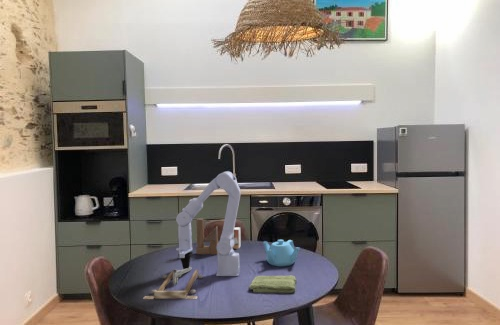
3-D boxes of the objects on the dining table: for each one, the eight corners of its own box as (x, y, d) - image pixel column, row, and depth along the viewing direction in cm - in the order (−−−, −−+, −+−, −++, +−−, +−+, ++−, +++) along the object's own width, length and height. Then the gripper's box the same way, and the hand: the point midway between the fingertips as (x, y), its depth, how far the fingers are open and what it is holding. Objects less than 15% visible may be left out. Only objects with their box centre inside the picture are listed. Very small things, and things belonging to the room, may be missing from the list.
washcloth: (253, 280, 156) (253, 273, 156) (296, 282, 154) (296, 274, 153) (248, 293, 143) (248, 285, 143) (295, 295, 141) (295, 286, 140)
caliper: (175, 286, 151) (174, 270, 151) (172, 286, 151) (172, 270, 151) (192, 269, 171) (191, 255, 171) (189, 269, 171) (189, 255, 171)
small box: (224, 248, 202) (223, 229, 202) (226, 245, 208) (226, 226, 207) (239, 249, 201) (238, 229, 200) (241, 246, 206) (240, 227, 206)
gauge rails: (208, 273, 165) (208, 267, 165) (196, 299, 138) (196, 292, 138) (162, 273, 166) (162, 268, 166) (142, 299, 139) (142, 292, 139)
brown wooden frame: (217, 254, 192) (216, 219, 191) (196, 254, 193) (195, 219, 192) (218, 252, 195) (217, 218, 194) (198, 252, 196) (197, 218, 195)
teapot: (300, 267, 170) (300, 243, 170) (267, 269, 169) (267, 245, 168) (293, 257, 185) (293, 235, 185) (263, 258, 184) (263, 236, 184)
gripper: (180, 234, 173) (180, 263, 174) (171, 243, 159) (172, 275, 160) (195, 234, 173) (196, 263, 174) (188, 243, 159) (189, 274, 159)
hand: (186, 269), depth 167 cm, fingers closed
